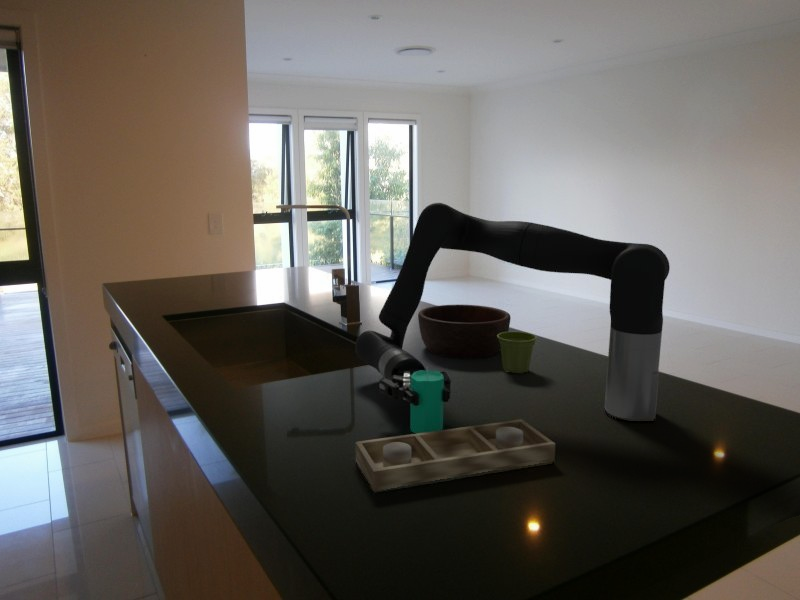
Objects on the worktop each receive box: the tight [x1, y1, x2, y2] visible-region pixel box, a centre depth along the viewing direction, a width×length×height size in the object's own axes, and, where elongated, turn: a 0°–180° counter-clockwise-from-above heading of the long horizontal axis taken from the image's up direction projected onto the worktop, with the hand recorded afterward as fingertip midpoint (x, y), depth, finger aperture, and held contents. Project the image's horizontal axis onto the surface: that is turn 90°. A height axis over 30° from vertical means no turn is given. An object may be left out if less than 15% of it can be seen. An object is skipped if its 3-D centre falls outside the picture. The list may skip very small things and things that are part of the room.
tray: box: [354, 418, 556, 492], centre depth 95 cm, size 30×11×4 cm, turn 109°
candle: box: [409, 366, 444, 434], centre depth 106 cm, size 6×6×12 cm
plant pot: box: [497, 331, 538, 374], centre depth 143 cm, size 9×9×9 cm
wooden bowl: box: [417, 304, 511, 359], centre depth 161 cm, size 25×25×10 cm
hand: (431, 398), depth 104 cm, fingers closed on candle, 5 cm apart
